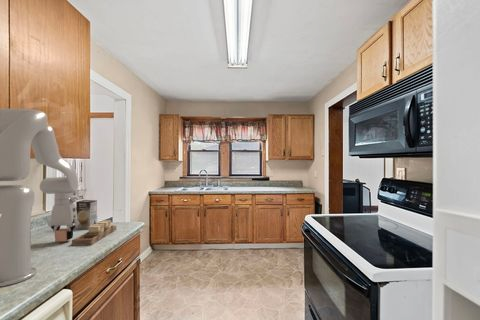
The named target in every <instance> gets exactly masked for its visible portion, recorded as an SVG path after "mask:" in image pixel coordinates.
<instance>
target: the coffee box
mask: <svg viewBox="0 0 480 320" xmlns="http://www.w3.org/2000/svg"><path fill="white" fill-rule="evenodd" d="M75 202H76V203H75V206H76V210H77V220H78V221H79V223H80V224H79V225H78V226H77V227H76V228H75V229H77V230H89V226H92V225H94V224H97V223H98V200H96V199H95V200H93V199H92V200H91V199H87V200H86V199H82V200H78V201H75Z"/></svg>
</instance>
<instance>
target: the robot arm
mask: <svg viewBox="0 0 480 320" xmlns="http://www.w3.org/2000/svg"><path fill="white" fill-rule="evenodd" d="M31 149H32V151H33V154H34V159H35V161H36V162H37V163H39V165H40V164H41V165H43V166H46V167H49V168H52V169H54V170H57V171H59V172H60V173H62V174H63V175H64V176H62V177H61V176H60V177H59V176H58V177H54V176H53V177H46V178H43V180H41V181H40V183H39V190H40V191H41V192H42V193H44V194H47V195H52V194H53V195H54V198H53V199H54V202H53V203H54V204H53V206H52V209H51V215H50V216H51V217H50V218H51V220H50V221H49V222H48V223H47V226H48V227H50V229H51V230H52V231H53V232H54V233H55V231H57V230H59V229H61V227H62V226H66V227H67V228H68V232H67V241H69V240H71V238H72V239H73V237H74V230H75V229H76V227H77V226H78V225H79V224H80V223H79V221H78V220H77V210H76V203H75V202H77V201H76V199H74V193H75V192H76V191H77V190H78V188H79V179H78V175H77V171H76V169H75V168H74V166H73V165H72V163H70V162H69V161H68V160H67V159H65V158H63V157H62V156H61V154H60V150H59V146H58V143H57V139H56V136H55V131H54V128H53V127H52V126H51V125H49V124H48V116H47V114H46V113H45V112H44V111H42V110H39V109H30V108H7V107H5V108H3V107H1V108H0V182H17V181H22V180H25V179H27V178H28V177H29V174H30V167H31ZM34 201H35V192H34V191H33V189H32V188H31V187H28V186H26V185H20V184H1V185H0V287H5V286H9V285H10V286H11V285H14V284H17V283H20V282H24V281H26V280H28V279H30V278H32V277H33V276H35V275H36V274H37V270H38V269H37V267H35V266H31V265H32V262H31V259H32V258H31V257H32V256H31V254H32V253H31V251H32V249H31V247H32V246H31V245H32V241H31V240H32V239H31V238H32V236H31V233H32V232H31V230H32V228H31V227H32V226H31V224H32V223H31V222H32V219H31V218H32V210H33V205H34Z"/></svg>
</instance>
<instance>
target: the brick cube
mask: <svg viewBox="0 0 480 320" xmlns="http://www.w3.org/2000/svg"><path fill="white" fill-rule="evenodd" d="M67 232H68V228H64V227H63V228H60V229H59V230H57V231H55V232H54V242H67V241H68V240H67ZM71 239H72V240H73V237H72V238H71ZM71 239H70V240H71Z"/></svg>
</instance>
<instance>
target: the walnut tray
mask: <svg viewBox="0 0 480 320" xmlns="http://www.w3.org/2000/svg"><path fill="white" fill-rule="evenodd" d="M116 230H117V225H112V220H111V219H110V220H100V221H97V224H94V225H92V226H89V229H88V231H87V232H85V233H83V234H82V235H79V236H78V237H75V238H72V240H71V246H92V245H94V244H96V243H98V242H99V241H100V240H101V241H102V239H104V238H106V237H107V236H109V235H111V234H113V233H114V232H115V231H116Z"/></svg>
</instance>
